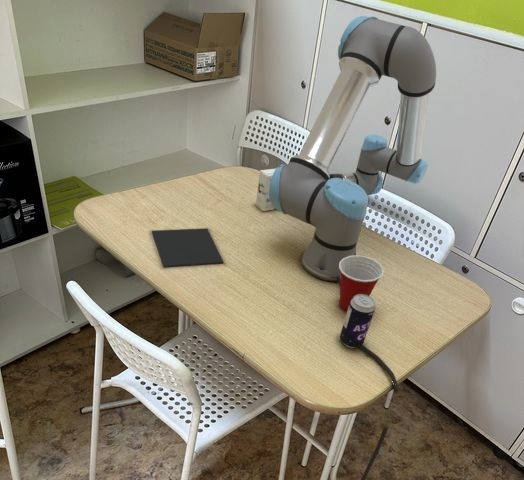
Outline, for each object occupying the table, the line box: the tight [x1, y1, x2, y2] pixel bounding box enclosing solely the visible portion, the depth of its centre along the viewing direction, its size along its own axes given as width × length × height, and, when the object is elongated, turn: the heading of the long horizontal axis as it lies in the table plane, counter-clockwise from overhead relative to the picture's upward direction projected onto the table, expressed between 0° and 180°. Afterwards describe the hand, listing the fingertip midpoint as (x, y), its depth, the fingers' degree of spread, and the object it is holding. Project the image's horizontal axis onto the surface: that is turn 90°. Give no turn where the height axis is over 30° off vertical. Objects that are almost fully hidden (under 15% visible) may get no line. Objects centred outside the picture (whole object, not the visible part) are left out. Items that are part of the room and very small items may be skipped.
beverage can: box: [339, 294, 376, 349], centre depth 117 cm, size 6×6×12 cm
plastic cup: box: [339, 254, 385, 312], centre depth 128 cm, size 11×11×12 cm
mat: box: [151, 227, 225, 268], centre depth 143 cm, size 18×16×1 cm
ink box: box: [255, 168, 276, 212], centre depth 164 cm, size 8×5×12 cm, turn 121°
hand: (282, 188), depth 166 cm, fingers open, 13 cm apart
